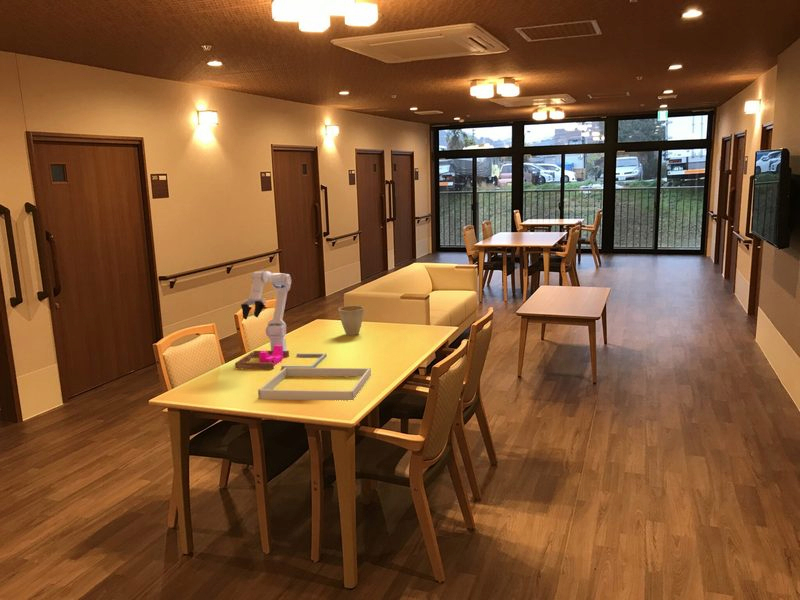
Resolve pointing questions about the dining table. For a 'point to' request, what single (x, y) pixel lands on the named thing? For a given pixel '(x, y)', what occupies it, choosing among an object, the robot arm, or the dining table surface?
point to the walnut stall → (244, 365)
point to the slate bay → (308, 356)
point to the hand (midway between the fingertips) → (250, 317)
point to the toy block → (275, 356)
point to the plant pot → (351, 319)
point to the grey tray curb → (268, 393)
